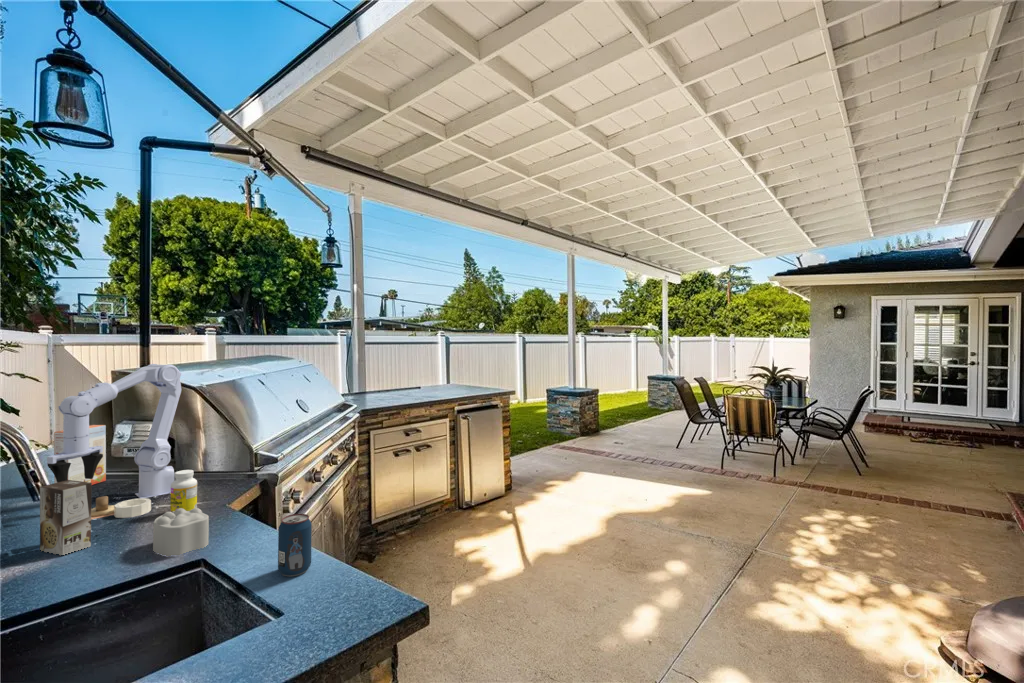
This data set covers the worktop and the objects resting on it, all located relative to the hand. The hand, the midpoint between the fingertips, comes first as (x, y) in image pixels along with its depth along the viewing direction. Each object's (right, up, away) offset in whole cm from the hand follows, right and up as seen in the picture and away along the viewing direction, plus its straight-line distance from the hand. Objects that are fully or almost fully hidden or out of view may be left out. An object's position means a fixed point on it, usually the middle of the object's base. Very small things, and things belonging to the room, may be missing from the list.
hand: (76, 482), depth 144 cm
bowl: (+16, -10, +1) cm, 19 cm away
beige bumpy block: (+45, -11, -21) cm, 50 cm away
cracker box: (-24, -10, +28) cm, 38 cm away
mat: (+7, -10, +1) cm, 12 cm away
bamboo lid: (+7, -9, +1) cm, 12 cm away
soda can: (+80, -11, -33) cm, 87 cm away
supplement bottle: (+31, -10, +2) cm, 33 cm away
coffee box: (+18, -10, -23) cm, 31 cm away
